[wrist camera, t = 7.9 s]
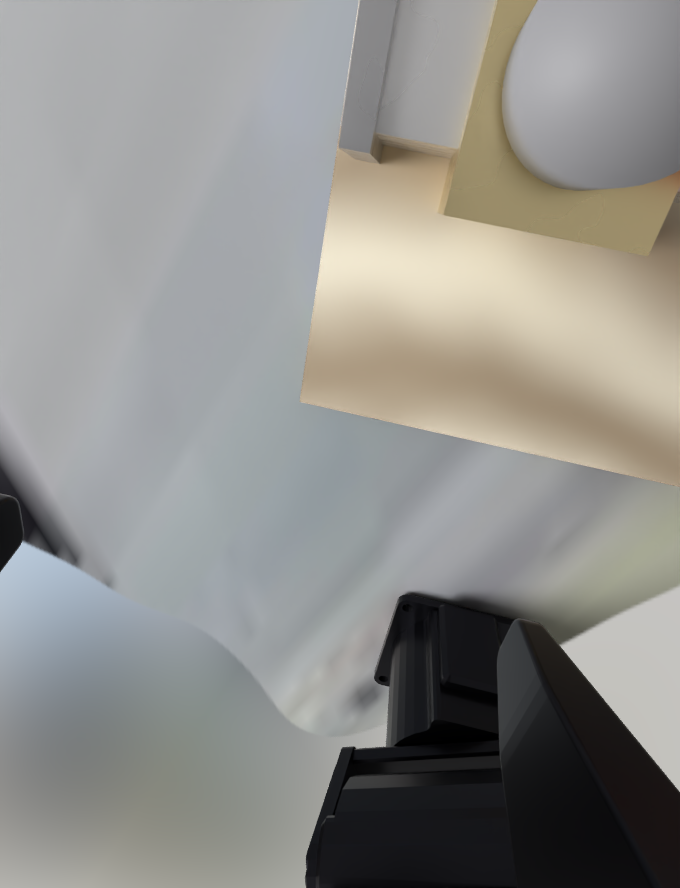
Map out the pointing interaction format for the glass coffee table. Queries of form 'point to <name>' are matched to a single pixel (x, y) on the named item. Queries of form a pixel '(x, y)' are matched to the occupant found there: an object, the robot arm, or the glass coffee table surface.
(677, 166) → the lever
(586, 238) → the valve body
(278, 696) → the glass coffee table surface
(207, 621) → the glass coffee table surface
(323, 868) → the robot arm
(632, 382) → the board
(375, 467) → the glass coffee table surface
